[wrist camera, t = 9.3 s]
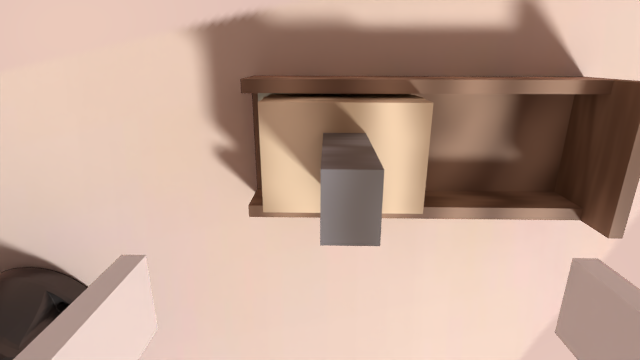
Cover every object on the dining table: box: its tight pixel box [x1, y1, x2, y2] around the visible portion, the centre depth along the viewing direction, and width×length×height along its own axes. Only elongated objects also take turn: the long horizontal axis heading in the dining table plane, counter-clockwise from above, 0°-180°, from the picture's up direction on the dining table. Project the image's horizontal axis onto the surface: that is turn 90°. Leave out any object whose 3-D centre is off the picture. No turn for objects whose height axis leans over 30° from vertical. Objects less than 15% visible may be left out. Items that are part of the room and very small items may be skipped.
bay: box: [241, 76, 640, 238], centre depth 29 cm, size 28×11×8 cm, turn 90°
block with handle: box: [258, 94, 433, 246], centre depth 25 cm, size 12×8×15 cm
